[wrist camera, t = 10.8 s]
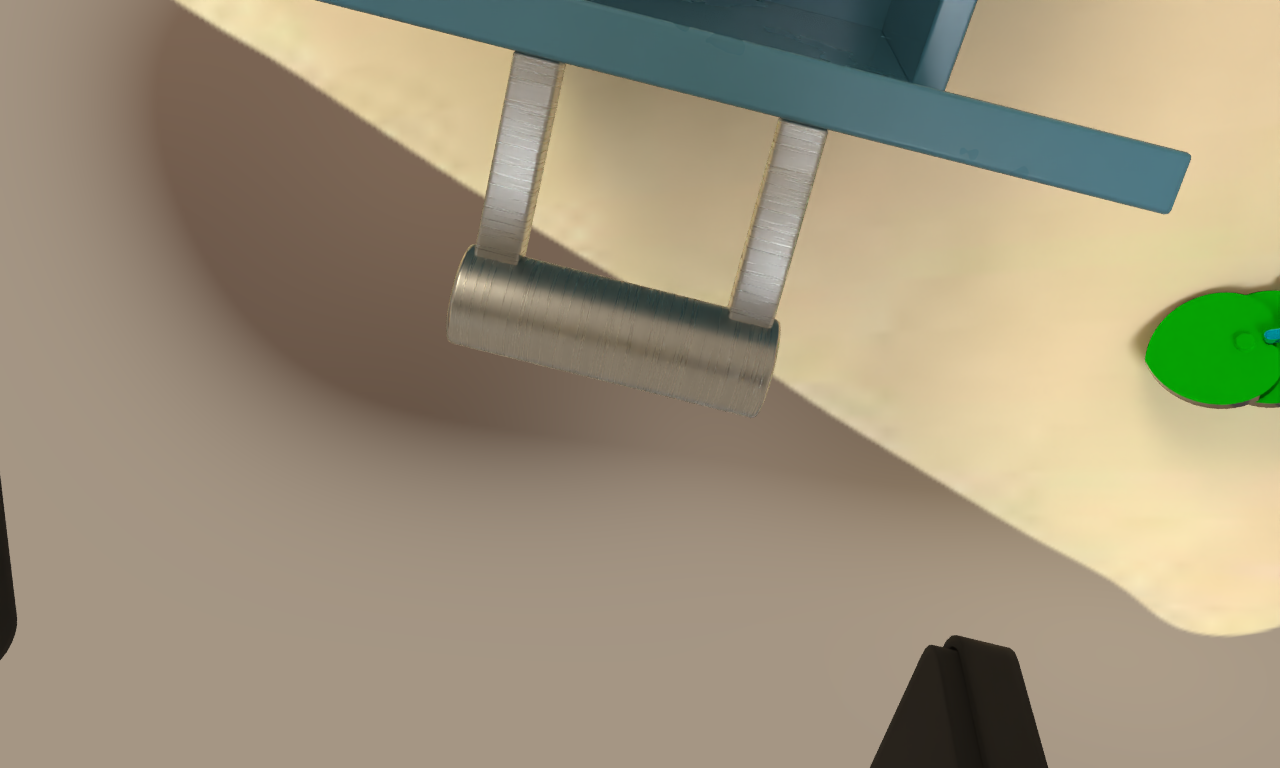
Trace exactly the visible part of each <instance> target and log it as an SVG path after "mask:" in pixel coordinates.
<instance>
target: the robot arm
mask: <svg viewBox="0 0 1280 768" xmlns="http://www.w3.org/2000/svg"><path fill="white" fill-rule="evenodd" d="M16 627H17V614H16V606H15V597H14V589H13V580H12V572H11V564H10V556H9V547H8V538H7V529H6V521H5V512H4V504H3V496H2V487H1V479H0V660H1V659H2V657H3V656H4V655H5V653H6V652H7V650H8V649H9V647H10V645H11V643H12V641H13V638H14V635H15V632H16ZM870 768H1048V765H1047V762H1046V759H1045V755H1044V751H1043V748H1042V744H1041V740H1040V737H1039V734H1038V730H1037V726H1036V723H1035V719H1034V715H1033V712H1032V709H1031V705H1030V701H1029V698H1028V694H1027V690H1026V687H1025V683H1024V679H1023V676H1022V672H1021V669H1020V665H1019V662H1018V659H1017V657H1016V654H1015V652H1014V651H1013V650H1012V649H1010V648H1007V647H1003V646H999V645H994V644H991V643H986V642H982V641H978V640H974V639H970V638H966V637H962V636H957V635H954V636H951V637H950V638H949V639H948V640H947V641H946V642H945V644H944V646H943V647H939V646H935V645H929V646H928V647H927V648H926V649H925V650H924V652H923V654H922V656H921V658H920V660H919V662H918V664H917V667H916V669H915V671H914V673H913V675H912V678H911V680H910V682H909V684H908V686H907V688H906V691H905V693H904V695H903V697H902V699H901V701H900V703H899V706H898V708H897V710H896V712H895V714H894V717H893V719H892V721H891V723H890V725H889V728H888V729H887V732H886V734H885V736H884V738H883V740H882V743H881V745H880V747H879V749H878V751H877V754H876V755H875V758H874V760H873V762H872V764H871V767H870Z"/></svg>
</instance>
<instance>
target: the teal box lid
mask: <svg viewBox="0 0 1280 768" xmlns="http://www.w3.org/2000/svg"><path fill="white" fill-rule="evenodd" d="M316 1H320V2H324V3H328V4H332V5H336V6H340V7H344V8H348V9H352V10H356V11H360V12H364V13H368V14H372V15H376V16H380V17H384V18H388V19H392V20H396V21H400V22H404V23H408V24H412V25H415V26H419V27H423V28H427V29H431V30H435V31H439V32H443V33H447V34H451V35H455V36H459V37H463V38H467V39H471V40H475V41H479V42H483V43H487V44H491V45H495V46H499V47H503V48H507V49H511V50H515V52H514V54H513V59H512V64H511V69H510V74H509V79H508V84H507V89H506V95H505V100H504V105H503V110H502V115H501V120H500V125H499V130H498V135H497V140H496V145H495V150H494V155H493V160H492V165H491V171H490V176H489V181H488V186H487V191H486V196H485V201H484V206H483V211H482V216H481V222H480V226H479V231H478V236H477V241H476V244H475V245H471V246H470V247H469V248H468V249H467V251H466V252H465V254H464V256H463V258H462V260H461V263H460V265H459V268H458V271H457V273H456V277H455V280H454V284H453V288H452V292H451V296H450V301H449V306H448V312H447V321H446V332H447V339H448V341H450V342H451V343H453V344H457V345H461V346H465V347H469V348H473V349H477V350H481V351H485V352H489V353H493V354H497V355H501V356H505V357H509V358H513V359H517V360H521V361H525V362H529V363H533V364H537V365H541V366H545V367H549V368H553V369H557V370H561V371H565V372H569V373H573V374H577V375H581V376H585V377H589V378H593V379H597V380H601V381H606V382H609V383H614V384H617V385H621V386H625V387H630V388H633V389H637V390H641V391H645V392H649V393H653V394H657V395H661V396H665V397H669V398H673V399H677V400H681V401H685V402H689V403H693V404H697V405H701V406H706V407H709V408H713V409H717V410H722V411H725V412H729V413H733V414H737V415H741V416H745V417H750V418H753V417H756V416H757V414H758V413H759V411H760V410H761V407H762V405H763V403H764V400H765V397H766V395H767V391H768V389H769V385H770V382H771V378H772V375H773V371H774V367H775V363H776V358H777V353H778V348H779V342H780V331H781V330H780V323H779V321H777V320H776V319H775V316H776V312H777V309H778V305H779V302H780V298H781V295H782V291H783V288H784V284H785V281H786V277H787V274H788V270H789V267H790V263H791V260H792V256H793V253H794V249H795V246H796V242H797V239H798V235H799V232H800V228H801V225H802V221H803V218H804V214H805V211H806V207H807V204H808V200H809V197H810V193H811V190H812V186H813V183H814V179H815V176H816V172H817V169H818V165H819V162H820V158H821V155H822V151H823V148H824V144H825V141H826V137H827V134H828V131H827V129H828V130H832V131H836V132H840V133H844V134H848V135H852V136H856V137H859V138H863V139H867V140H871V141H875V142H879V143H883V144H887V145H891V146H895V147H899V148H903V149H907V150H911V151H915V152H919V153H923V154H927V155H931V156H935V157H939V158H943V159H947V160H951V161H955V162H959V163H963V164H967V165H970V166H974V167H978V168H982V169H986V170H990V171H994V172H998V173H1002V174H1006V175H1010V176H1014V177H1018V178H1022V179H1026V180H1030V181H1034V182H1038V183H1042V184H1046V185H1050V186H1054V187H1058V188H1062V189H1066V190H1070V191H1074V192H1078V193H1081V194H1085V195H1089V196H1093V197H1097V198H1101V199H1105V200H1109V201H1113V202H1117V203H1121V204H1125V205H1129V206H1133V207H1137V208H1141V209H1145V210H1149V211H1153V212H1157V213H1161V214H1168V213H1169V212H1170V211H1171V209H1172V207H1173V204H1174V202H1175V199H1176V196H1177V194H1178V191H1179V189H1180V186H1181V183H1182V181H1183V178H1184V176H1185V173H1186V170H1187V168H1188V165H1189V163H1190V160H1191V155H1190V154H1188V153H1187V152H1183V151H1179V150H1175V149H1171V148H1167V147H1163V146H1159V145H1156V144H1152V143H1148V142H1144V141H1140V140H1136V139H1132V138H1128V137H1124V136H1120V135H1116V134H1112V133H1108V132H1104V131H1100V130H1096V129H1092V128H1088V127H1084V126H1080V125H1076V124H1072V123H1069V122H1065V121H1061V120H1057V119H1053V118H1049V117H1045V116H1041V115H1037V114H1033V113H1029V112H1025V111H1021V110H1017V109H1013V108H1009V107H1005V106H1001V105H997V104H993V103H989V102H985V101H982V100H978V99H974V98H970V97H966V96H962V95H958V94H954V93H950V92H946V91H942V90H938V89H934V88H930V87H926V86H922V85H918V84H914V83H910V82H906V81H902V80H898V79H895V78H891V77H887V76H883V75H879V74H875V73H871V72H867V71H863V70H859V69H855V68H851V67H847V66H843V65H839V64H835V63H831V62H827V61H823V60H819V59H815V58H811V57H808V56H804V55H800V54H796V53H792V52H788V51H784V50H780V49H776V48H772V47H768V46H764V45H760V44H756V43H752V42H748V41H744V40H740V39H736V38H732V37H728V36H724V35H721V34H717V33H713V32H709V31H705V30H701V29H697V28H693V27H689V26H685V25H681V24H677V23H673V22H669V21H665V20H661V19H657V18H653V17H649V16H645V15H641V14H637V13H634V12H630V11H626V10H622V9H618V8H614V7H610V6H606V5H602V4H598V3H594V2H590V1H586V0H316ZM565 63H566V64H570V65H574V66H578V67H582V68H586V69H590V70H594V71H598V72H602V73H606V74H610V75H614V76H618V77H622V78H626V79H630V80H634V81H637V82H641V83H645V84H649V85H653V86H657V87H661V88H665V89H669V90H673V91H677V92H681V93H685V94H689V95H693V96H697V97H701V98H705V99H709V100H713V101H717V102H721V103H725V104H729V105H733V106H737V107H741V108H745V109H748V110H752V111H756V112H760V113H764V114H768V115H772V116H776V117H780V118H779V120H778V124H777V127H776V131H775V135H774V138H773V142H772V146H771V149H770V153H769V157H768V160H767V164H766V168H765V171H764V175H763V179H762V182H761V186H760V190H759V193H758V197H757V201H756V205H755V208H754V212H753V216H752V219H751V223H750V227H749V230H748V234H747V238H746V241H745V245H744V249H743V252H742V256H741V260H740V263H739V267H738V271H737V274H736V278H735V282H734V286H733V289H732V293H731V297H730V300H729V304H728V307H724V306H720V305H716V304H712V303H708V302H704V301H700V300H696V299H692V298H688V297H684V296H680V295H676V294H672V293H668V292H664V291H660V290H656V289H652V288H648V287H644V286H640V285H636V284H632V283H628V282H624V281H620V280H616V279H612V278H608V277H604V276H600V275H596V274H592V273H588V272H584V271H580V270H576V269H572V268H568V267H564V266H560V265H556V264H552V263H548V262H544V261H540V260H536V259H532V258H528V257H525V255H526V250H527V245H528V240H529V236H530V231H531V226H532V222H533V217H534V212H535V207H536V203H537V198H538V193H539V189H540V184H541V179H542V174H543V170H544V165H545V160H546V155H547V151H548V146H549V141H550V137H551V132H552V127H553V122H554V118H555V113H556V108H557V104H558V99H559V94H560V89H561V85H562V80H563V75H564V70H565V66H566V65H565Z"/></svg>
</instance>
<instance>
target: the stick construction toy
mask: <svg viewBox="0 0 1280 768" xmlns="http://www.w3.org/2000/svg"><path fill="white" fill-rule="evenodd" d="M1145 362H1146V365H1147V367H1148V369H1149V370H1150V372H1151V374H1152V375H1153V376H1154V378H1155V379H1156V380H1157V381H1158V382H1159V384H1160V385H1161V386H1163V387H1164V388H1165V389H1166V390H1167V391H1169V392H1170V393H1171V394H1173V395H1174V396H1176V397H1178V398H1180V399H1182V400H1184V401H1186V402H1188V403H1191V404H1194V405H1198V406H1202V407H1207V408H1216V409H1228V408H1236V407H1241V406H1245V405H1248V404H1249V405H1252V406H1257V407H1266V408H1275V407H1280V291H1261V292H1255V293H1251V294H1248V295H1243V294H1238V293H1228V292H1225V293H1213V294H1208V295H1204V296H1200V297H1197V298H1195V299H1192V300H1190V301H1188V302H1186V303H1184V304H1182V305H1181V306H1179V307H1178V308H1176V309H1175V310H1174V311H1172V312H1171V313H1170V314H1169V315H1168V316H1167V317H1166V318H1164V320H1163V321H1162V322H1161V323H1160V324H1159V326H1158V327H1157V329H1156V330H1155V332H1154V333H1153V335H1152V337H1151V339H1150V342H1149V344H1148V347H1147V351H1146V356H1145Z"/></svg>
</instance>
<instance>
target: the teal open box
mask: <svg viewBox="0 0 1280 768" xmlns="http://www.w3.org/2000/svg"><path fill="white" fill-rule="evenodd" d="M586 1H590V2H594V3H598V4H602V5H606V6H610V7H614V8H618V9H622V10H626V11H630V12H634V13H637V14H641V15H645V16H649V17H653V18H657V19H661V20H665V21H669V22H673V23H677V24H681V25H685V26H689V27H693V28H697V29H701V30H705V31H709V32H713V33H717V34H721V35H724V36H728V37H732V38H736V39H740V40H744V41H748V42H752V43H756V44H760V45H764V46H768V47H772V48H776V49H780V50H784V51H788V52H792V53H796V54H800V55H804V56H808V57H811V58H815V59H819V60H823V61H827V62H831V63H835V64H839V65H843V66H847V67H851V68H855V69H859V70H863V71H867V72H871V73H875V74H879V75H883V76H887V77H891V78H895V79H898V80H902V81H906V82H910V83H914V84H918V85H922V86H926V87H930V88H934V89H938V90H942V91H945V89H946V86H947V83H948V81H949V78H950V75H951V72H952V70H953V67H954V64H955V61H956V59H957V56H958V53H959V50H960V48H961V45H962V42H963V39H964V36H965V34H966V31H967V28H968V25H969V23H970V20H971V17H972V14H973V12H974V9H975V6H976V3H977V1H978V0H586Z"/></svg>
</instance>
